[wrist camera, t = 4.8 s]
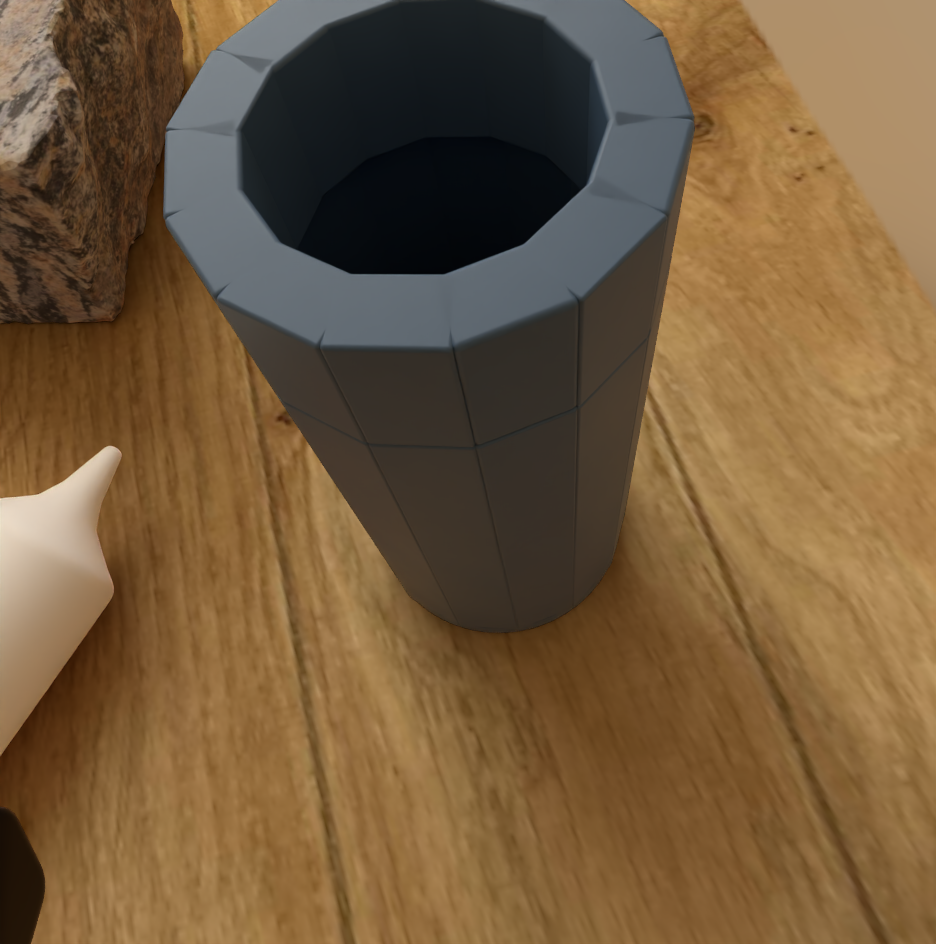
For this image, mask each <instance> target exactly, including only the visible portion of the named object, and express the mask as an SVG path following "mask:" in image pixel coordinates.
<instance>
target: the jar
mask: <svg viewBox="0 0 936 944" xmlns="http://www.w3.org/2000/svg"><path fill="white" fill-rule="evenodd" d="M694 131H695V126H694V115H693V112H692V109H691V106H690V103H689V101H688V98H687V95H686V92H685V89H684V86H683V83H682V80H681V78H680V75H679V72H678V69H677V66H676V63H675V60H674V57H673V55H672V52H671V49H670V46H669V43H668V40H667V38H666V37H664V35H663V32H662V31H661V30H660V29H659V28H658V27H656V26H655V25H654V24H653V23H652V22H650V21H649V20H648V19H647V18H645V17H644V16H643V15H642V14H641V13H639V12H638V11H637V10H636V9H634V8H633V7H632V6H631V5H630V4H628V3H627V2H626V1H625V0H278V1H277V2H276V3H274V4H273V5H272V6H270V7H269V8H268V9H266V10H265V11H264V12H263V13H261V14H260V15H259V16H257V17H256V18H255V19H253V20H252V21H251V22H249V23H248V24H247V25H245V26H244V27H243V28H242V29H240V30H239V31H238V32H236V33H235V34H234V35H232V36H231V37H230V38H228V39H227V40H226V41H225V42H223V43H222V44H221V45H219V46H218V47H217V49H216V50H213V51H211V53H210V54H209V56H208V58H207V59H206V61H205V63H204V64H203V66H202V68H201V69H200V71H199V73H198V74H197V76H196V78H195V79H194V81H193V83H192V84H191V86H190V88H189V90H188V91H187V93H186V95H185V96H184V98H183V100H182V101H181V103H180V105H179V106H178V108H177V110H176V111H175V113H174V115H173V116H172V118H171V120H170V121H169V123H168V125H167V126H166V134H165V167H164V206H163V217H164V219H165V223H166V227H167V229H168V230H169V232H170V233H171V235H172V236H173V238H174V240H175V241H176V243H177V244H178V246H179V247H180V249H181V250H182V252H183V253H184V255H185V256H186V258H187V259H188V261H189V263H190V264H191V266H192V267H193V269H194V270H195V272H196V273H197V275H198V276H199V278H200V279H201V281H202V283H203V284H204V286H205V287H206V289H207V290H208V292H209V293H210V295H211V296H212V298H213V299H214V301H215V302H216V304H217V305H218V307H219V308H220V310H221V311H222V313H223V315H224V316H225V318H226V319H227V321H228V322H229V324H230V325H231V327H232V328H233V330H234V331H235V333H236V334H237V336H238V337H239V339H240V340H241V342H242V343H243V345H244V346H245V348H246V349H247V351H248V352H249V354H250V355H251V357H252V358H253V360H254V361H255V363H256V365H257V366H258V368H259V369H260V371H261V372H262V374H263V375H264V377H265V378H266V380H267V381H268V383H269V384H270V386H271V387H272V389H273V390H274V392H275V393H276V395H277V396H278V398H279V399H280V401H281V402H282V404H283V405H284V407H285V408H286V410H287V412H288V413H289V415H290V416H291V418H292V419H293V421H294V422H295V424H296V425H297V427H298V428H299V430H300V431H301V433H302V434H303V436H304V437H305V439H306V440H307V442H308V443H309V445H310V446H311V448H312V449H313V451H314V452H315V454H316V455H317V457H318V458H319V460H320V461H321V463H322V465H323V466H324V468H325V469H326V471H327V472H328V474H329V475H330V477H331V478H332V480H333V481H334V483H335V484H336V486H337V487H338V489H339V490H340V492H341V493H342V495H343V496H344V498H345V499H346V501H347V502H348V504H349V505H350V507H351V508H352V510H353V511H354V513H355V514H356V516H357V518H358V519H359V521H360V522H361V524H362V525H363V527H364V528H365V530H366V531H367V533H368V534H369V536H370V537H371V539H372V540H373V542H374V543H375V545H376V546H377V548H378V549H379V551H380V552H381V554H382V555H383V557H384V558H385V560H386V561H387V563H388V564H389V566H390V567H391V569H392V571H393V572H394V574H395V575H396V577H397V578H398V580H399V581H400V583H401V584H402V586H403V587H404V589H405V590H406V592H407V593H408V595H409V596H410V597H411V598H412V599H414V600H415V601H417V602H418V603H419V604H421V605H422V606H423V607H424V608H426V609H427V610H428V611H429V612H431V613H433V614H434V615H436V616H438V617H439V618H441V619H443V620H445V621H447V622H450V623H452V624H454V625H457V626H460V627H463V628H467V629H470V630H476V631H482V632H497V633H506V632H515V631H522V630H526V629H530V628H534V627H538V626H540V625H543V624H546V623H548V622H551V621H553V620H555V619H557V618H558V617H560V616H562V615H564V614H566V613H567V612H569V611H570V610H571V609H573V608H574V607H575V606H577V605H578V604H580V603H581V602H582V601H583V600H584V599H585V598H586V597H587V596H588V595H589V594H590V593H591V592H592V591H593V589H594V588H595V587H596V586H597V584H598V583H599V582H600V581H601V579H602V578H603V576H604V574H605V572H606V571H607V569H608V568H609V567H610V564H611V563H612V560H613V556H614V553H615V550H616V546H617V542H618V538H619V534H620V530H621V526H622V522H623V518H624V515H625V509H626V504H627V498H628V493H629V487H630V482H631V476H632V471H633V465H634V460H635V455H636V449H637V444H638V438H639V433H640V427H641V422H642V416H643V411H644V405H645V400H646V394H647V389H648V383H649V378H650V372H651V367H652V362H653V356H654V351H655V345H656V340H657V334H658V329H659V323H660V318H661V312H662V307H663V301H664V296H665V290H666V285H667V279H668V274H669V269H670V263H671V258H672V256H671V255H672V251H673V246H674V240H675V235H676V229H677V224H678V218H679V213H680V207H681V202H682V196H683V191H684V185H685V180H686V174H687V169H688V163H689V158H690V152H691V147H692V141H693V136H694Z"/></svg>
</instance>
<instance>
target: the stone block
mask: <svg viewBox="0 0 936 944" xmlns="http://www.w3.org/2000/svg"><path fill="white" fill-rule="evenodd" d="M182 39H183V32H182V27H181V24H180V21H179V18H178V16H177V14H176V12H175V11H174V9H173V6H172V2H171V0H0V323H11V322H12V321H17V322H22V323H26V324H30V323H33V322H39V323H44V322H58V323H62V322H66V323H73V322H100V321H113V320H114V319H115V318H116V316H117V315H118V314H120V312H121V310H122V307H123V304H124V291H125V287H126V283H125V274H126V272H127V269H128V250H129V247H130V244H133V243H135V242H134V241H133V240H134V239H135V238H137V237H138V236H139V235H141V234H142V233H143V231H144V227H145V224H146V216H147V209H148V203H147V197H148V194H149V192H150V190H151V187H152V185H153V183H154V180H155V178H156V176H155V170H156V166H157V164H158V163H159V162H160V157H161V153H162V148H163V144H164V140H165V134H166V126H167V125H168V123H169V119H170V118H171V116H172V115H173V113H174V112H175V110H176V109H177V107H178V106H179V103H180V97H181V95H182V91H183V89H184V84H183V82H184V73H183V69H182V60H183V50H182Z"/></svg>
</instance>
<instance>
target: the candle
mask: <svg viewBox="0 0 936 944" xmlns="http://www.w3.org/2000/svg"><path fill="white" fill-rule="evenodd" d="M121 458H122V455H121V452H120V450H118V449H117V448H116V447H113V446H107V447H105V448H104V449H102V450H101V451H100V452H99V453H97V454H96V455H95V456H94V457H93V458H91V459H90V460H89V461H88V462H86V463H85V464H84V465H83V466H82V467H80V468H79V469H78V470H77V471H75V472H74V473H73V474H72V475H70V476H69V477H68V478H67V479H66V480H64V481H63V482H61V483H59V484H57V485H55V486H53V487H51V488H49V489H48V490H46V491H44V492H42V493H40V494H38V495H30V496H20V497H10V498H0V756H1V755H2V753H3V752H4V750H5V749H6V747H7V746H8V745H9V743H10V742H11V740H12V739H13V738H14V736H15V735H16V733H17V732H18V730H19V729H20V728H21V726H22V725H23V723H24V722H25V721H26V719H27V718H28V716H29V715H30V714H31V712H32V711H33V709H34V708H35V706H36V705H37V704H38V702H39V701H40V699H41V698H42V697H43V695H44V694H45V692H46V691H47V689H48V688H49V687H50V685H51V684H52V682H53V681H54V680H55V678H56V677H57V675H58V674H59V673H60V671H61V670H62V668H63V667H64V665H65V664H66V663H67V661H68V660H69V658H70V657H71V656H72V654H73V653H74V651H75V650H76V648H77V647H78V646H79V644H80V643H81V641H82V640H83V639H84V637H85V636H86V634H87V633H88V631H89V630H90V629H91V627H92V626H93V624H94V623H95V622H96V620H97V619H98V617H99V616H100V615H101V613H102V612H103V610H104V609H105V607H106V606H107V605H108V603H109V602H110V600H111V599H112V596H113V594H114V586H113V582H112V579H111V576H110V574H109V571H108V569H107V565H106V562H105V559H104V556H103V552H102V549H101V546H100V542H99V538H98V535H97V531H96V530H97V524H98V518H99V513H100V507H101V504H102V501H103V499H104V497H105V494H106V492H107V490H108V488H109V485H110V483H111V481H112V479H113V476H114V474H115V472H116V469H117V467H118V465H119V463H120V460H121Z"/></svg>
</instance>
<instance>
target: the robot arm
mask: <svg viewBox="0 0 936 944" xmlns="http://www.w3.org/2000/svg"><path fill="white" fill-rule="evenodd" d="M44 893H45V877H44V873H43V869H42V866H41V864H40V862H39V860H38V858H37V856H36V854H35V852H34V850H33V848H32V846H31V844H30V842H29V840H28V838H27V836H26V834H25V832H24V830H23V828H22V826H21V824H20V822H19V820H18V818H17V817H16V815H15V813H13V812H12V811H11V810H10V809H8V808H5V807H0V944H31V942H32V938H33V935H34V931H35V928H36V924H37V921H38V917H39V914H40V910H41V907H42V903H43V899H44Z"/></svg>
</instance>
